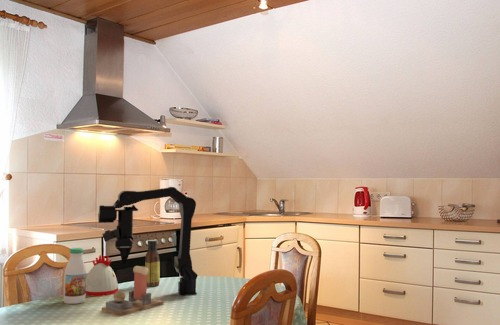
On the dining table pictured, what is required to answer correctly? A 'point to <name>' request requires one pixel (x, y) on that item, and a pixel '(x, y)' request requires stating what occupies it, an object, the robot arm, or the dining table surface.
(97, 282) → the white and red dome
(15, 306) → the dining table surface
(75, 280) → the milk bottle
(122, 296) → the walnut
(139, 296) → the lever
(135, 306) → the base
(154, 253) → the sauce bottle
